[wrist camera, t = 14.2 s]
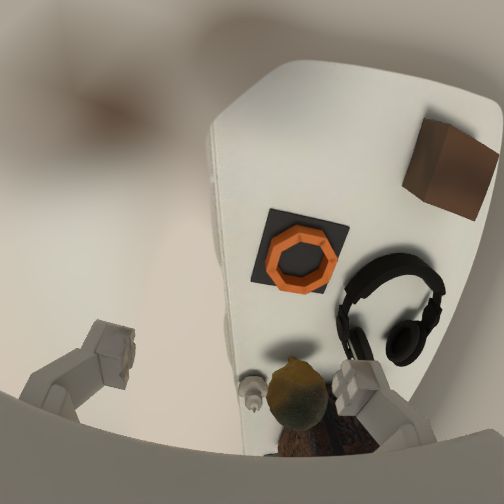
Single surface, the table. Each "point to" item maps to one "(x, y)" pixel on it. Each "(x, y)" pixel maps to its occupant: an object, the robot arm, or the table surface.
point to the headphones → (405, 333)
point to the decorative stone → (297, 395)
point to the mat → (296, 247)
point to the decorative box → (328, 436)
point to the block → (450, 169)
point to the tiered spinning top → (253, 391)
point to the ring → (310, 280)
